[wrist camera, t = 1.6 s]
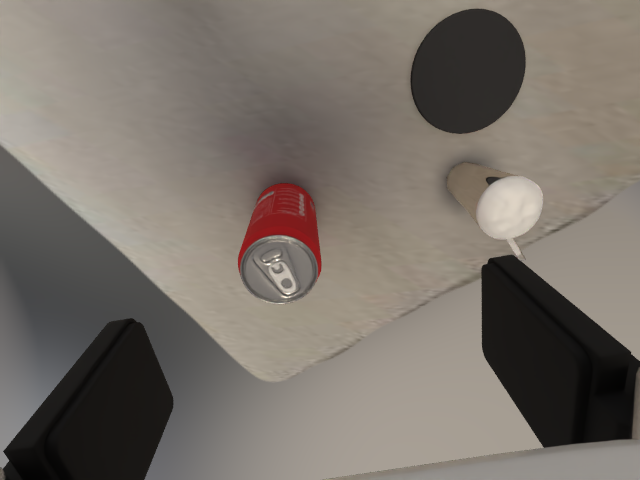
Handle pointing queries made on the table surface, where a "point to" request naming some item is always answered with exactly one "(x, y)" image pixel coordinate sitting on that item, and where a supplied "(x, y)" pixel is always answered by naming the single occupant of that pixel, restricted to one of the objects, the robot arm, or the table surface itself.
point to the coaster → (468, 71)
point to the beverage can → (281, 246)
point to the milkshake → (497, 200)
